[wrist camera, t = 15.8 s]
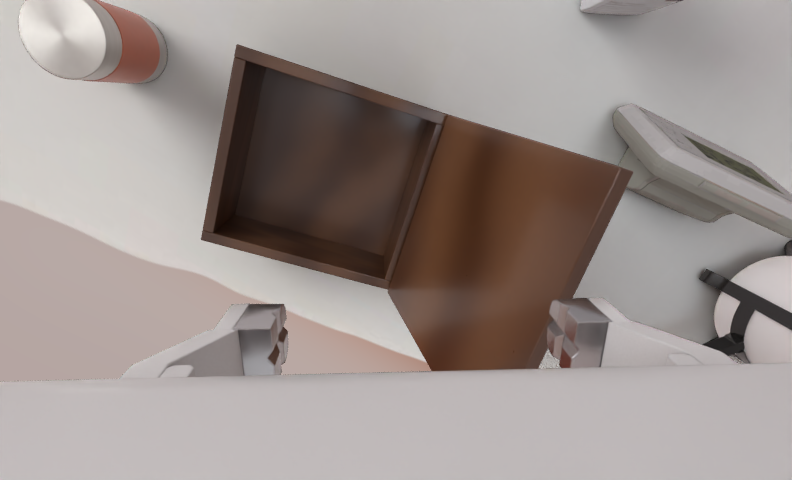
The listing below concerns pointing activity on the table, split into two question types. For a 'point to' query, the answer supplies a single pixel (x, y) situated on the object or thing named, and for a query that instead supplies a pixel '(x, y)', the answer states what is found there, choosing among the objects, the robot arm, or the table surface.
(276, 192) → the chest
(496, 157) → the lid
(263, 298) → the table surface
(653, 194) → the digital clock
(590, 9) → the cosmetic box
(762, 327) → the coffee press
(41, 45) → the can
